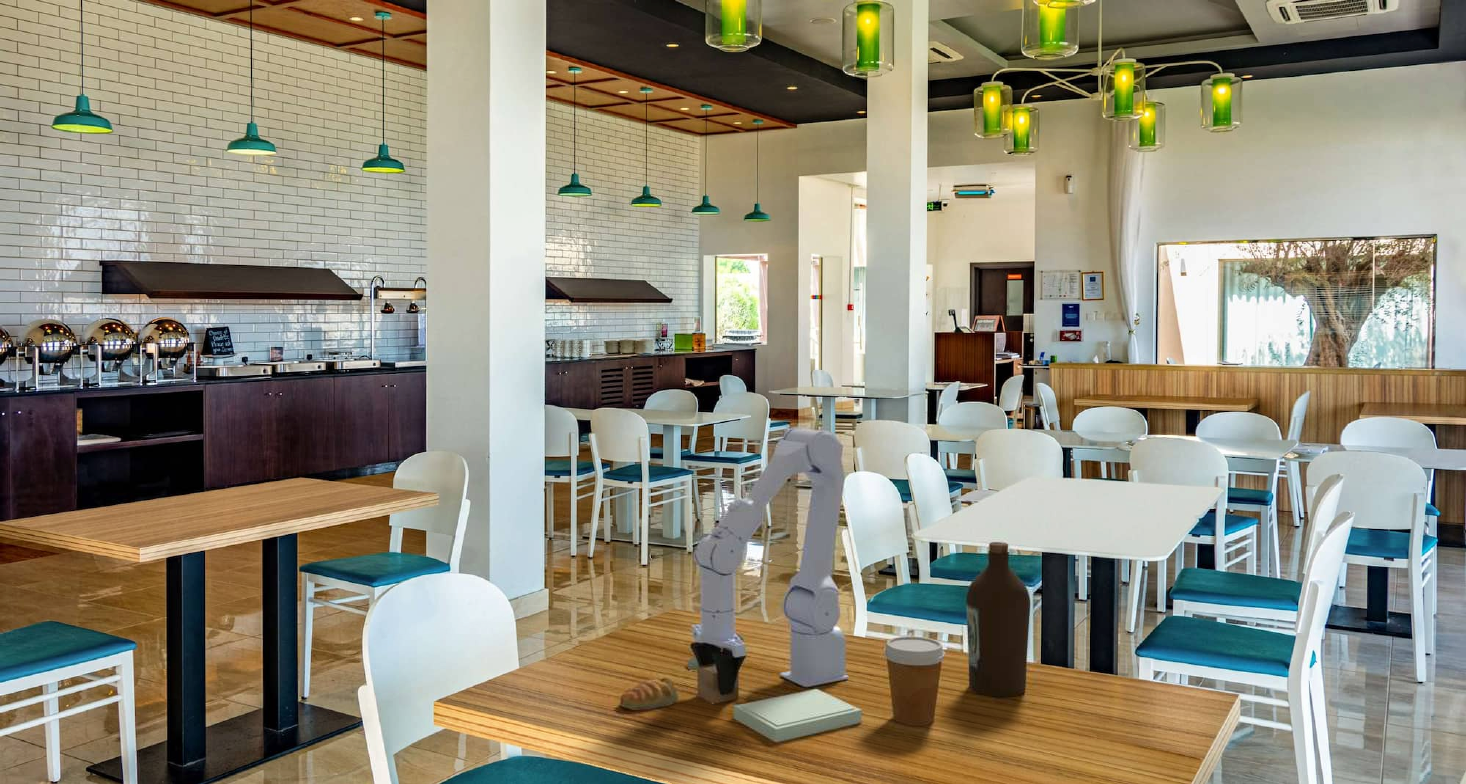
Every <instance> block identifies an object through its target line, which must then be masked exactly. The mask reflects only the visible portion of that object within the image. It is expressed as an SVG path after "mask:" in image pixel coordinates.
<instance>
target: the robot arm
mask: <svg viewBox="0 0 1466 784" xmlns="http://www.w3.org/2000/svg"><path fill="white" fill-rule="evenodd" d="M839 440H840V439H838V437H837V436H836V435H835V434H834V433H832V432H831V431H829V430H815V429H807V428H802V427H797V426H796V427H791V428H789V429H788V430H786V431H785V433H784V434H783V435H782V438H781V439H780V440H779V441H777V443H776V444H775V448H774V453H773V456H772V457H771V459H770V460H769V462H768V463H767V465H766V467H765V468H764V470H763V471H762V473H761V474H760V476H759V478H758V479H757V481H756V482H755V484H754V485H753V487H752V489H751V490H750V491H749V493H748V494H747V496H746V497H745V498H738V499H736V500H735V501H734V502H730V504H729V505H727V508H726V509H727V510H728V511H726V513H725V515H724V516H723V518H722V519H721V520H720V521H719V523H718V524H717V525H716V526H714V527H713V528H712V530H711V531H710V532H711V534H708V535H707V536H705V537H703V538H702V539H701V540H700V541H699V542H698V543H697V546H696V550H695V551H694V552H692V553H693V559H694V561H695V564H696V565H697V566H698V567H699V576H700V624H692V625H691V637H692V638H694V641H695V642H691V643H690V647H689V648H690V649H691V650H692V652H693V654H694V656H695V657H696V659H697V662H698V665H699V666H702V665H708V664H713V663H715V665H716V669H717V674H718V684H719V691H720V694H721V695H726V694H731V693H733V690H734V686H735V682H736V678H737V674H738V672H740V669H741V666H742V664H743V662H745V661H744V660H745V659H746V658H747V647H746V643H744V641H743V642H742V641H741V640H740V639H739V637H738V636H737V633H736V608H735V607H736V604H735V603H736V597H735V596H736V590H735V588H736V570H737V569H738V568H739V567H740V566H741V565H742V561H743V552H744V550H745V546H747V544H748V543H749V541H750V539H752V537H753V535H755V533H756V532H757V530H758V528H759V527H760V526H761V524H762V523H763V522H764V519H765V518H764V509H765V508H766V507H767V505H768V504H769V503H770V501H771V500H772V499H773V498H774V497H775V496H776V494H778V492H779V490H780V489H781V488H782V487H783V486H784V485H785V483H786V482H787V481H788V480H789V479H790V478H791V476H793V475H797V474H801V473H804V474H805V476H806V477H807V478H808V479H809V481H810V482H811V485H812V486H811V490H810V498H809V503H808V511H807V519H806V526H805V533H804V540H803V546H802V551H801V552H802V553H801V561H800V566H799V571H798V572H797V573H796V574H795V575H793V576H792V577H791V578H790V580H789V585H788V589H787V591H786V592H785V594H784V596H783V599H782V604H781V605H782V606H781V607H782V612H783V614H784V616H785V617H786V618H787V619H788V626H789V627H790V628H789V629H790V634H789V635H790V639H789V640H790V641H789V642H790V643H789V644H790V647H789V648H790V649H789V650H790V651H789V652H790V653H789V654H790V655H789V656H790V659H789V660H790V661H789V662H790V663H789V664H790V665H789V668H790V669H789V671H783V672H780V673H779V675H780V677H782V678H785V679H786V680H789V681H791V682H793V683H795V684H797V685H799V686H800V687H804V688H809V687H814V686H818V685H825V684H829V683H835V682H838V681H843V680H848V679H849V675H847V672H846V671H847V668H846V667H847V664H846V663H847V661H846V658H847V655H846V653H847V652H846V651H847V648H846V647H847V646H846V645H847V644H846V643H847V642H846V637H845V635H844V632H843V631H842V629H841V628H840V627H839V626H837V624H838V622H839V620H840V616H841V608H840V607H841V606H840V603H839V593H840V592H839V591H840V590H839V589H838V588H839V587H838V586H837V585H836V583H835V582H834V580H833V578H832V569H833V563H834V562H833V561H834V555H835V547H836V541H837V534H838V528H839V527H838V526H839V521H840V513H841V507H842V499H843V492H844V488H845V487H844V486H845V478H846V477H845V476H846V475H845V470H844V466H843V461H842V456H843V448H844V445H843V444H842V442H841V441H839ZM721 649H722V650H721Z"/></svg>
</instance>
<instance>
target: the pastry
mask: <svg viewBox="0 0 1466 784" xmlns="http://www.w3.org/2000/svg"><path fill="white" fill-rule="evenodd" d="M678 699H679V695H678V692H677V689H676V687H675V686H674V683H673V681H672V680H671V679H670V678H669V677H666V676H664V677H660V676H659V677H657V678H656V679H648V680H645V681H641V682H639V683H638V684H637V685H635V686H634V687H633V688H629V689H628V690H627V691H625V692H624V693H623V694H621V696H620V702H619V706H620V707H623V708H625V709H629V710H632V711H640V710H653V709H657V708H660V707H659V706H662V707H666V706H665V705H667V706H669V705H668V704H670V705H672V704H671V703H673V704H675V703H676V701H678ZM656 707H657V708H656Z"/></svg>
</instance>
